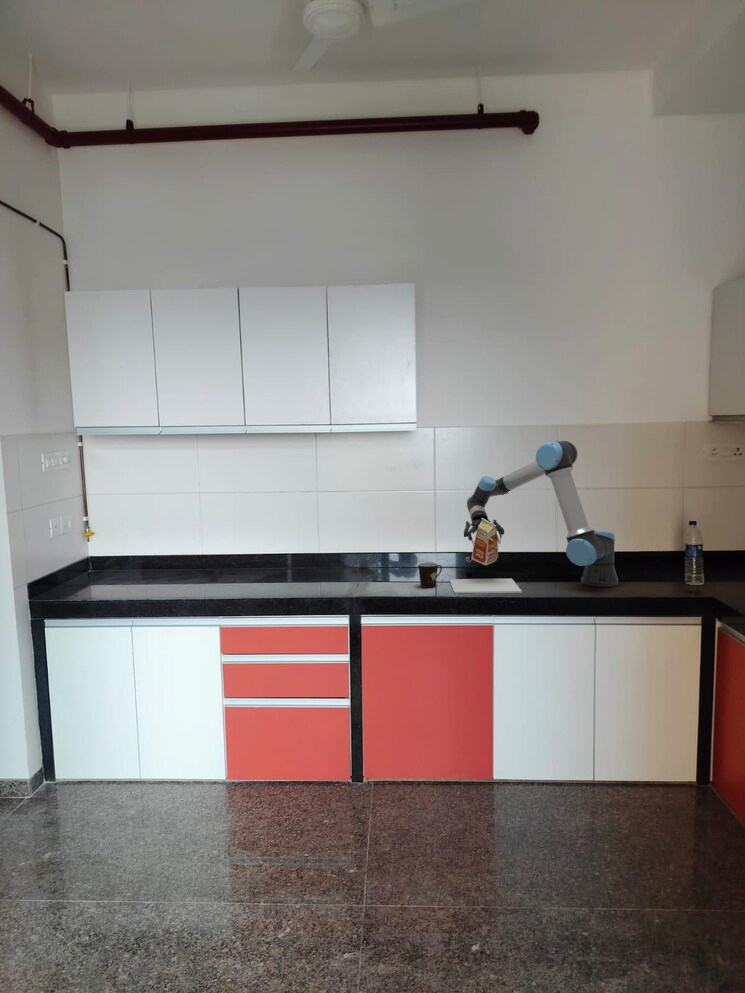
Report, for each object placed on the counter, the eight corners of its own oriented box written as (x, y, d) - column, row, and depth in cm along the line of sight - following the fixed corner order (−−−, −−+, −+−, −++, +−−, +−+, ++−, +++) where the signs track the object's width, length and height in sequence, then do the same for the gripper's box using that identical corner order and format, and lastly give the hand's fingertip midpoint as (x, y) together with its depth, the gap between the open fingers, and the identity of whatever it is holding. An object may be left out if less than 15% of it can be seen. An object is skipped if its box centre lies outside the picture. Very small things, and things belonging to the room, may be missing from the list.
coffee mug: (421, 589, 276) (421, 566, 275) (416, 585, 284) (415, 563, 283) (447, 587, 278) (447, 565, 277) (441, 583, 287) (441, 561, 286)
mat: (512, 580, 290) (512, 578, 289) (521, 592, 267) (521, 591, 267) (449, 581, 291) (449, 579, 291) (454, 593, 268) (454, 591, 268)
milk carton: (471, 559, 287) (471, 520, 277) (484, 550, 292) (484, 512, 283) (488, 566, 281) (488, 527, 271) (500, 557, 286) (501, 518, 277)
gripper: (503, 522, 299) (513, 547, 279) (454, 525, 299) (460, 551, 280) (503, 508, 295) (513, 533, 276) (454, 511, 296) (460, 536, 276)
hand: (486, 542), depth 278 cm, fingers closed on milk carton, 10 cm apart
